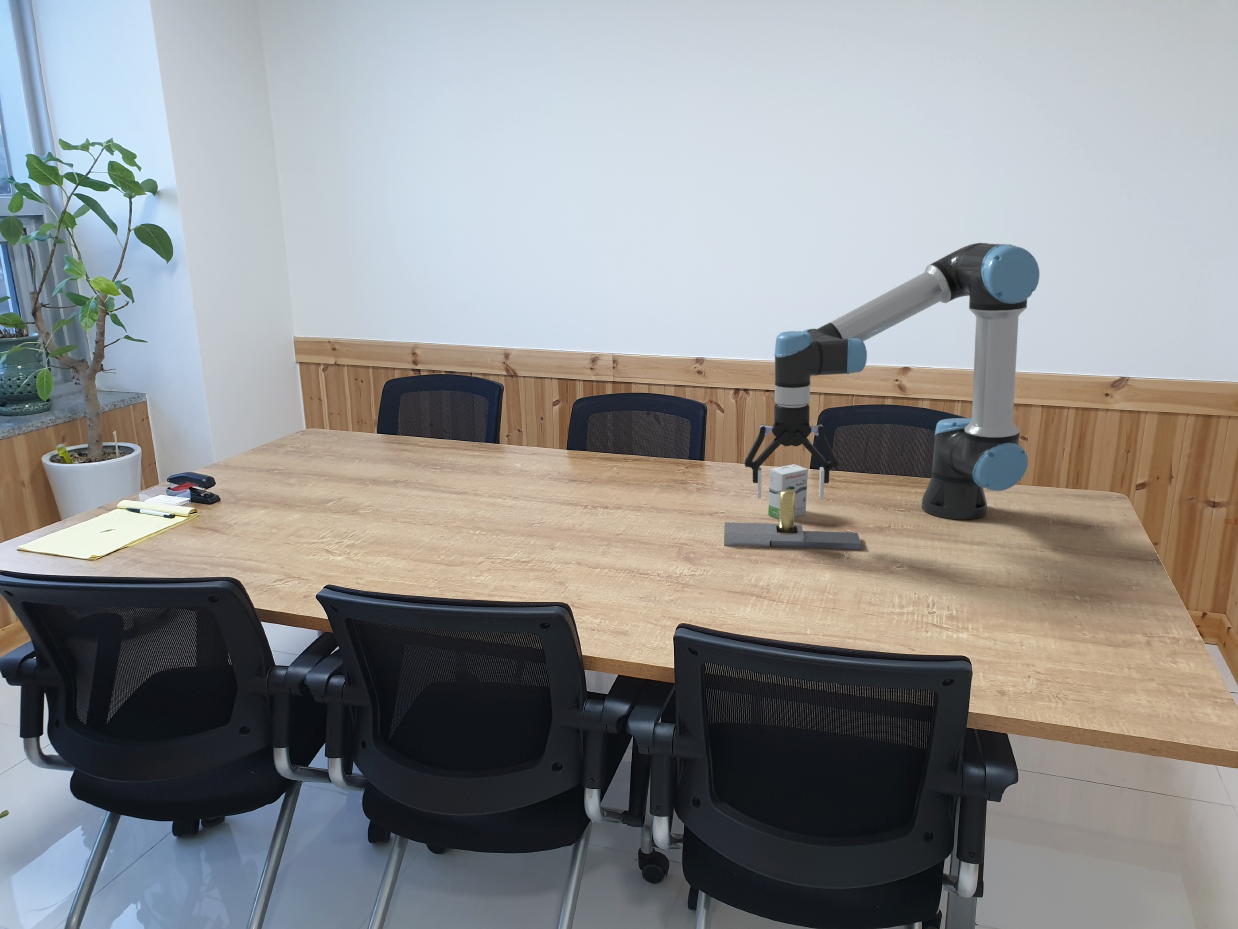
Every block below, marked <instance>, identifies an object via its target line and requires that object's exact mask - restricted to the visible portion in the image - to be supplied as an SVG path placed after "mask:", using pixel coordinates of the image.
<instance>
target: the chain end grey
mask: <svg viewBox="0 0 1238 929" xmlns="http://www.w3.org/2000/svg"><path fill="white" fill-rule="evenodd" d="M803 531H804V530H803V526H802V524H798V523H797V524H796V523H794V532H796V533H777V532H779V523H766V522H765V523H763V522H762V523H761V522H734V521H733V522H732V521H731V522H729V521H725V522H724V532H723V546H732V547H735V546H736V547H737V546H738V547H759V548H760V547H761V548H763V547H765V548H770V547H771V541H796V542H803V539H804V534H803Z"/></svg>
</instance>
